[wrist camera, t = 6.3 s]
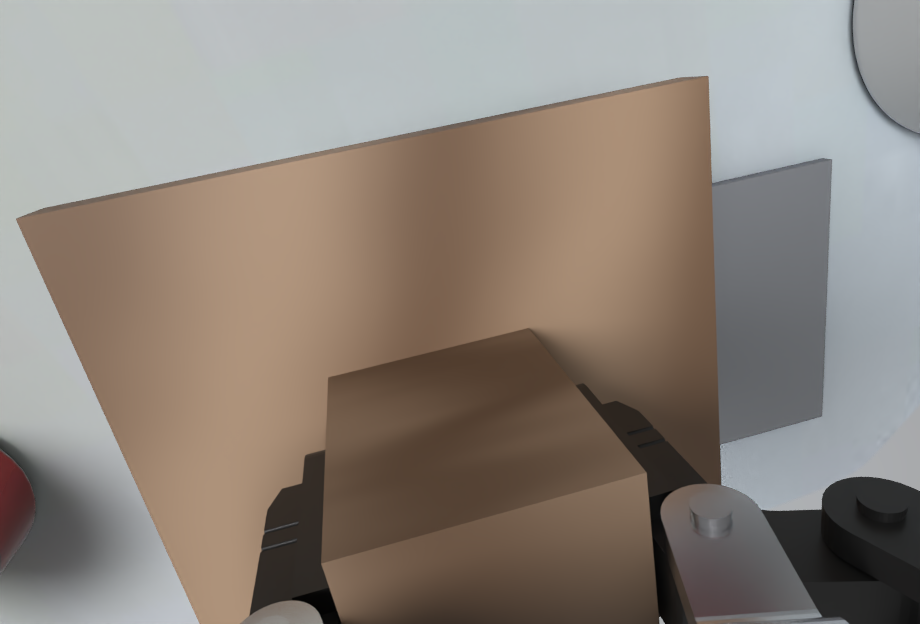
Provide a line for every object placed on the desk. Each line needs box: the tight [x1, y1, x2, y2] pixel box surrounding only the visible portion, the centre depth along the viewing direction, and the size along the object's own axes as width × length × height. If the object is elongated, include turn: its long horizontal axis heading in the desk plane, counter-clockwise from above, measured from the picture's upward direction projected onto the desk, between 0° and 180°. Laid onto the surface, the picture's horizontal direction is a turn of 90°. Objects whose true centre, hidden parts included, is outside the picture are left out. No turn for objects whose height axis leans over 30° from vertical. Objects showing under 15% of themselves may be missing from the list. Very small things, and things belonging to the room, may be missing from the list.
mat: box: [712, 158, 832, 444], centre depth 31 cm, size 14×14×1 cm
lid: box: [16, 76, 721, 624], centre depth 11 cm, size 12×12×6 cm
